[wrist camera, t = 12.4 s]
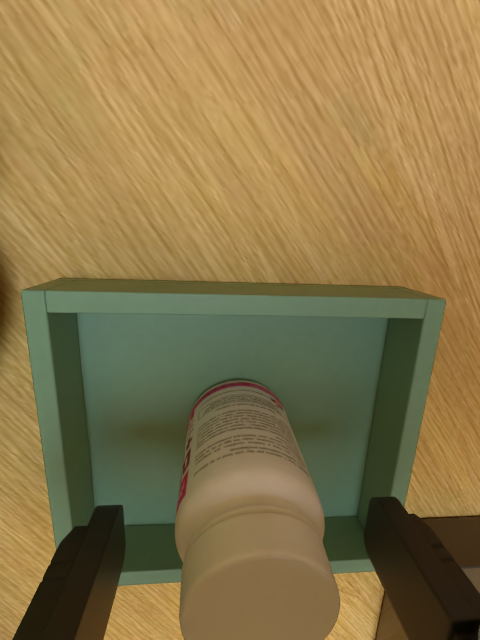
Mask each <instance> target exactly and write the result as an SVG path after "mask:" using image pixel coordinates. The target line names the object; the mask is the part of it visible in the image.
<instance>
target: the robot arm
mask: <svg viewBox="0 0 480 640" xmlns="http://www.w3.org/2000/svg"><path fill="white" fill-rule="evenodd" d="M364 543H365V548H366V551H367V554H368V556H369V559H370V561H371V563H372V565H373V567H374V569H375V571H376V573H377V575H378V577H379V579H380V581H381V584H382V586H383V588H384V590H385V592H386V594H387V596H388V598H389V600H390V602H391V604H392V606H393V609H394V611H395V613H396V615H397V617H398V619H399V621H400V623H401V625H402V627H403V629H404V631H405V633H406V636H407V638H408V640H480V593H479V592H478V590H477V589H476V588H475V586H474V585H473V584H472V582H471V581H470V579H469V578H468V577H467V575H466V574H465V573H464V571H463V570H462V569H461V567H460V566H459V565H458V563H457V562H456V561H454V559H453V557H452V555H451V554H450V552H449V551H448V550H447V548H446V547H444V546H443V543H442V542H441V540H440V539H439V538H438V536H437V535H436V534H435V532H434V531H433V529H432V528H431V527H430V526H429V525H427V524H426V523H425V522H424V521H423V520H421V519H420V518H419V517H418V516H417V515H415V514H408V512H407V511H406V510H405V508H404V507H403V505H402V504H401V502H400V501H399V500H398V499H397V498H396V497H394V496H389V497H372V498H371V499H370V501H369V506H368V512H367V518H366V524H365V530H364ZM125 549H126V539H125V524H124V510H123V505H98V506H96V508H95V509H94V512H93V514H92V516H91V519H90V521H89V523H88V526H75V527H74V528H73V529H72V530H71V531H70V532H69V534H68V535H67V536H66V537H65V538H64V539H63V540H62V541H61V542H60V544H59V546H58V548H57V550H56V552H55V554H54V556H53V558H52V560H51V564H50V565H49V566H48V568H47V570H46V572H45V574H44V576H43V580H42V582H41V583H40V585H39V587H38V589H37V591H36V593H35V595H34V597H33V599H32V601H31V603H30V605H29V607H28V609H27V611H26V613H25V615H24V617H23V619H22V621H21V623H20V625H19V627H18V629H17V631H16V633H15V635H14V637H13V639H12V640H103V639H104V635H105V631H106V627H107V624H108V620H109V616H110V613H111V609H112V605H113V601H114V598H115V594H116V590H117V587H118V583H119V579H120V575H121V572H122V568H123V564H124V558H125Z"/></svg>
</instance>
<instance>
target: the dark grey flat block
mask: <svg viewBox="0 0 480 640" xmlns="http://www.w3.org/2000/svg"><path fill="white" fill-rule="evenodd" d="M421 520H423V521H424V522H425V523H426V524H427V525H429V526H430V527H431V528H432V529H433V531H434V532H435V534H436V535H437V536H438V538H439V539H440V540H441V542H442V543H443V546H444V547H446V548H447V550H448V551H449V552H450V554H451V555H452V557H453V559H454V561H456V562H457V563H458V565H459V566H460V567H461V569H462V570H463V571H464V573H465V574H466V575H467V577H468V578H469V579H470V581H471V582H472V584H473V585H474V586H475V588H476V589H477V590H478V592H479V593H480V516H478V517H454V518H430V519H421ZM376 640H408V638H407V636H406V633H405V631H404V629H403V627H402V625H401V623H400V621H399V619H398V617H397V615H396V613H395V611H394V609H393V606H392V604H391V602H390V600H389V598H388V596H387V594H386V592H385V596H384V601H383V606H382V611H381V615H380V620H379V625H378V630H377V635H376Z"/></svg>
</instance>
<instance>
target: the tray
mask: <svg viewBox="0 0 480 640" xmlns="http://www.w3.org/2000/svg"><path fill="white" fill-rule="evenodd" d="M21 297H22V304H23V311H24V318H25V326H26V333H27V340H28V348H29V355H30V362H31V370H32V377H33V384H34V392H35V399H36V406H37V414H38V421H39V428H40V436H41V443H42V450H43V458H44V465H45V472H46V480H47V487H48V494H49V501H50V509H51V516H52V523H53V531H54V538H55V545H56V550H57V548H58V546H59V544H60V542H61V541H62V540H63V539H64V538H65V537H66V536H67V535H68V534H69V532H70V531H71V530H72V529H73V528H74V527H75V526H88V523H89V521H90V519H91V516H92V514H93V512H94V509H95V508H96V506H98V505H123V510H124V524H125V539H126V549H125V558H124V564H123V568H122V572H121V575H120V579H119V583H118V586H122V585H140V584H158V583H175V582H181V572H182V567H183V562H182V560H181V558H180V555H179V553H178V550H177V546H176V541H175V520H176V511H177V503H178V496H179V489H180V480H181V474H182V468H183V460H184V451H185V444H186V435H187V426H188V420H189V416H190V413H191V410H192V408H193V406H194V404H195V403H196V401H197V400H198V399H199V397H200V396H201V395H202V394H203V393H205V392H206V391H207V390H208V389H210V388H212V387H213V386H216V385H218V384H221V383H223V382H228V381H234V380H246V381H252V382H256V383H258V384H261V385H263V386H265V387H266V388H268V389H269V390H270V391H272V392H273V393H274V394H275V395H276V396H277V398H278V399H279V400H280V402H281V403H282V405H283V407H284V410H285V412H286V415H287V418H288V421H289V424H290V426H291V429H292V431H293V434H294V437H295V439H296V441H297V444H298V447H299V449H300V452H301V454H302V457H303V459H304V462H305V464H306V467H307V469H308V472H309V474H310V476H311V479H312V481H313V484H314V486H315V489H316V491H317V494H318V497H319V499H320V502H321V505H322V508H323V513H324V520H325V531H324V537H323V546H324V548H325V551H326V554H327V558H328V560H329V563H330V566H331V569H332V572H333V574H336V573H353V572H371V571H375V569H374V567H373V565H372V563H371V561H370V559H369V556H368V554H367V551H366V548H365V543H364V530H365V524H366V518H367V512H368V506H369V501H370V499H371V498H372V497H389V496H394V497H396V498H397V499H398V500H399V501H400V502H401V504H402V505H403V507H404V506H405V501H406V496H407V491H408V487H409V482H410V477H411V472H412V467H413V462H414V457H415V452H416V447H417V442H418V437H419V433H420V428H421V423H422V418H423V413H424V408H425V403H426V398H427V393H428V388H429V383H430V379H431V374H432V369H433V364H434V359H435V354H436V349H437V344H438V339H439V334H440V329H441V325H442V320H443V315H444V310H445V305H446V300H445V299H443V298H439V297H436V296H432V295H429V294H425V293H422V292H418V291H415V290H411V289H408V288H405V287H394V286H355V285H315V284H276V283H236V282H197V281H157V280H118V279H78V278H60V279H56V280H53V281H50V282H47V283H43V284H40V285H37V286H33V287H30V288H27V289H24V290H21Z"/></svg>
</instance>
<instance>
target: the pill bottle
mask: <svg viewBox="0 0 480 640" xmlns="http://www.w3.org/2000/svg"><path fill="white" fill-rule="evenodd" d="M324 531H325V520H324V513H323V508H322V505H321V502H320V499H319V497H318V494H317V491H316V489H315V486H314V484H313V481H312V479H311V476H310V474H309V472H308V469H307V467H306V464H305V462H304V459H303V457H302V454H301V452H300V449H299V447H298V444H297V441H296V439H295V437H294V434H293V431H292V429H291V426H290V424H289V421H288V418H287V415H286V412H285V410H284V407H283V405H282V403H281V402H280V400H279V399H278V398H277V396H276V395H275V394H274V393H273V392H272V391H270V390H269V389H268V388H266V387H265V386H263V385H261V384H258V383H256V382H252V381H246V380H234V381H228V382H223V383H221V384H218V385H216V386H213V387H212V388H210V389H208V390H207V391H206V392H205V393H203V394H202V395H201V396H200V397H199V399H198V400H197V401H196V403H195V404H194V406H193V408H192V410H191V413H190V416H189V420H188V426H187V435H186V444H185V451H184V460H183V468H182V474H181V480H180V489H179V496H178V503H177V511H176V520H175V541H176V546H177V550H178V553H179V555H180V558H181V560H182V562H183V567H182V572H181V594H180V614H179V618H180V627H181V631H182V635H183V637H184V639H185V640H325V638H326V637H327V636H328V635H329V633H330V632H331V630H332V629H333V627H334V625H335V623H336V621H337V618H338V614H339V609H340V597H339V591H338V587H337V584H336V581H335V578H334V575H333V572H332V569H331V566H330V563H329V560H328V558H327V554H326V551H325V548H324V546H323V537H324Z"/></svg>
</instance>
